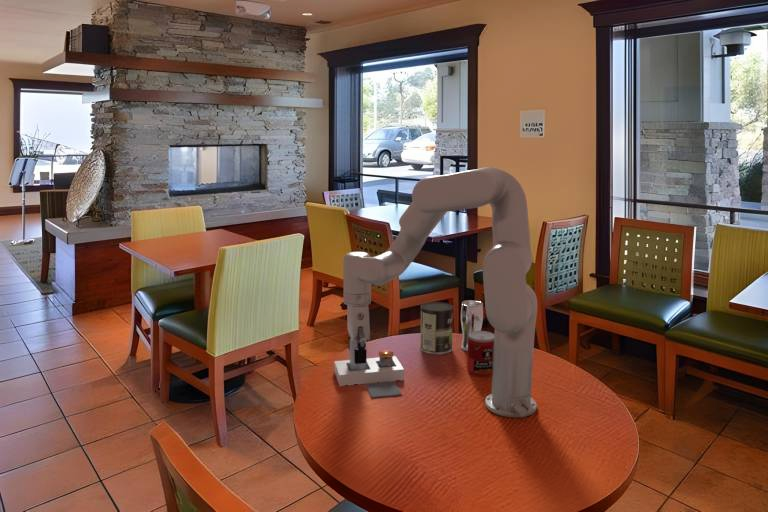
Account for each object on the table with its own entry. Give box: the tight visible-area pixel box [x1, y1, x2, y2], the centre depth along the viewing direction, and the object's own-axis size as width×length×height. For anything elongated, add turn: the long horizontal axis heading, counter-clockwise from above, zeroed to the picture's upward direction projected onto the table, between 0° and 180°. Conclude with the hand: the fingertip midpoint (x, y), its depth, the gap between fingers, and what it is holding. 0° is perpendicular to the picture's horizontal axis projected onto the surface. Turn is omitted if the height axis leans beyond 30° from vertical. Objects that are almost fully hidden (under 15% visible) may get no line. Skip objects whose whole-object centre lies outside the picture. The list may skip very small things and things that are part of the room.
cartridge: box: [349, 337, 367, 371], centre depth 158 cm, size 5×5×12 cm
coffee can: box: [419, 301, 454, 355], centre depth 179 cm, size 10×10×14 cm
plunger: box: [378, 349, 394, 368], centre depth 160 cm, size 4×4×6 cm
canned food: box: [466, 330, 494, 378], centre depth 161 cm, size 8×8×11 cm
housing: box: [334, 355, 405, 387], centre depth 159 cm, size 10×18×3 cm, turn 103°
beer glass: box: [460, 299, 484, 352], centre depth 179 cm, size 7×7×15 cm
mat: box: [365, 381, 402, 399], centre depth 150 cm, size 8×8×1 cm
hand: (357, 356), depth 158 cm, fingers open, 9 cm apart
